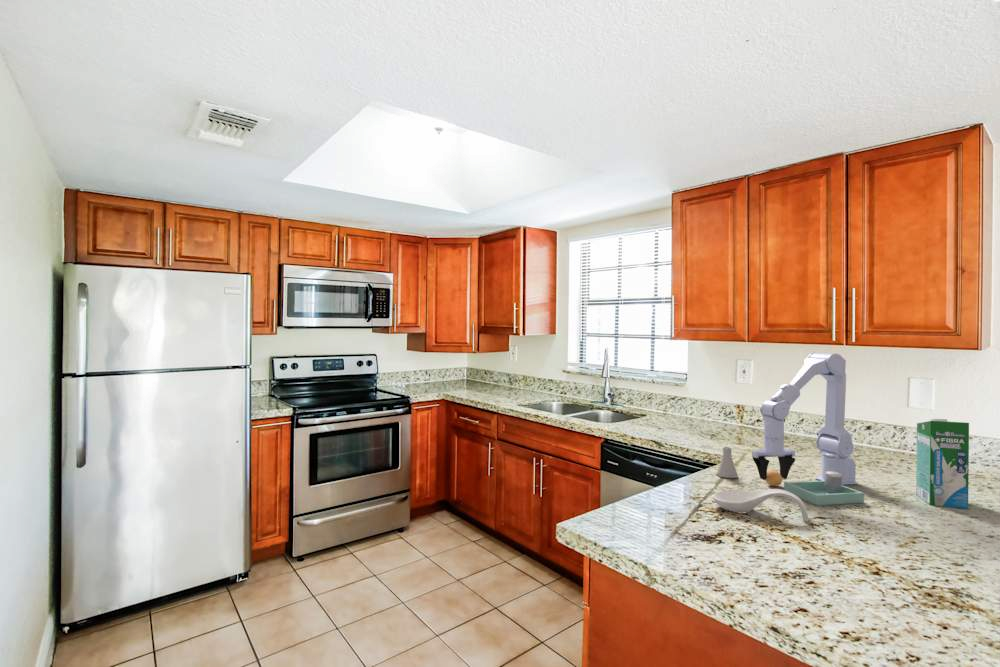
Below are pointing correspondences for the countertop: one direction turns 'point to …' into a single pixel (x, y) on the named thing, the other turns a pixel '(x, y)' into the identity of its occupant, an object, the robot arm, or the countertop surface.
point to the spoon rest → (753, 500)
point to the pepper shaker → (833, 482)
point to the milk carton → (943, 463)
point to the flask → (727, 465)
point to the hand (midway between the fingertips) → (773, 478)
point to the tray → (816, 490)
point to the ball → (774, 478)
